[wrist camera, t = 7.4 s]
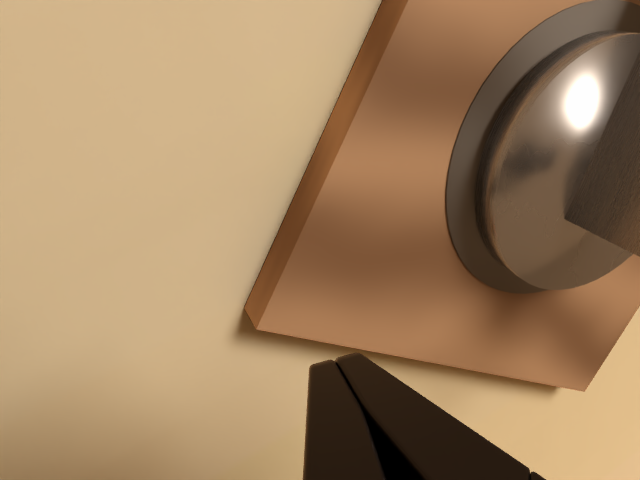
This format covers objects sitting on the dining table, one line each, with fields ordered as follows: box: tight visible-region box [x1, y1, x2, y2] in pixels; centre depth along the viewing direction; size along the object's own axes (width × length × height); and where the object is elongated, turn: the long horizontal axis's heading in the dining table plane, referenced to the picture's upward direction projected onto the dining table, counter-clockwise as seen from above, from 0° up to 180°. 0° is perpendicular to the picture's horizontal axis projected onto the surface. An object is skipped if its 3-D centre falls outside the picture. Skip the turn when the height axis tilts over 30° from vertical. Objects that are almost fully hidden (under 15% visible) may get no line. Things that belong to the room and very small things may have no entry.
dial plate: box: [244, 0, 640, 392], centre depth 23 cm, size 20×20×2 cm
